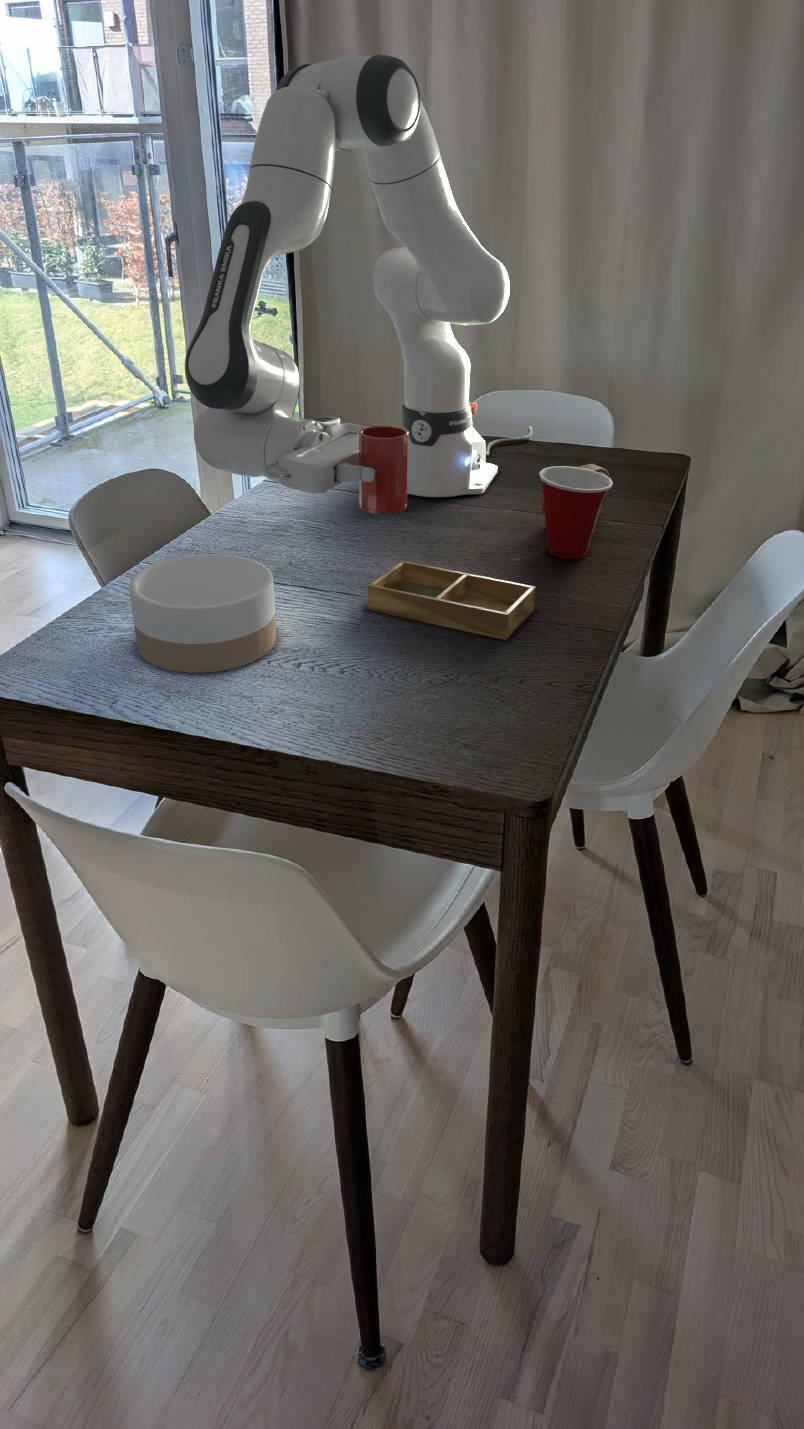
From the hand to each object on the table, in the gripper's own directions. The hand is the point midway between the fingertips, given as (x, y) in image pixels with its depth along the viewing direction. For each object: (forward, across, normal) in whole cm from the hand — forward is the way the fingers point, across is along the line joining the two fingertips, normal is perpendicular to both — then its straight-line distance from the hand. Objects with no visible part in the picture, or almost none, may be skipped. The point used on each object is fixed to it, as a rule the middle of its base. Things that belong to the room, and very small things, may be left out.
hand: (389, 467), depth 137 cm
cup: (-1, 0, +6) cm, 6 cm away
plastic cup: (+18, +25, +17) cm, 35 cm away
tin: (+14, +40, +17) cm, 45 cm away
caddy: (+11, -3, +17) cm, 21 cm away
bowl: (-12, -26, +17) cm, 34 cm away
